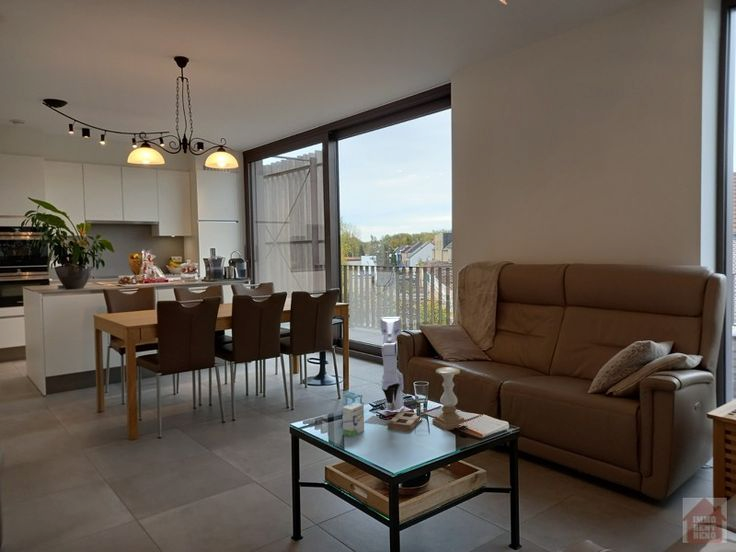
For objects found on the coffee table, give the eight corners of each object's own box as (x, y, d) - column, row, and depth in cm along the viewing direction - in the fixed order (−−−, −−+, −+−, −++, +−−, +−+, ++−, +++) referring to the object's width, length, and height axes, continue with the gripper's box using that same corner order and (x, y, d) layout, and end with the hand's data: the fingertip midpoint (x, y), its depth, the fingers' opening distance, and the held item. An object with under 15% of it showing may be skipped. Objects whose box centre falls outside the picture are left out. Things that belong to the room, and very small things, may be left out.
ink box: (355, 428, 227) (354, 401, 227) (365, 431, 224) (363, 403, 223) (342, 435, 221) (341, 407, 220) (352, 437, 217) (351, 409, 217)
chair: (366, 417, 241) (365, 391, 240) (353, 422, 235) (352, 395, 235) (355, 414, 247) (354, 388, 246) (341, 418, 241) (340, 392, 240)
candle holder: (431, 423, 231) (430, 368, 229) (453, 418, 235) (451, 365, 234) (445, 430, 221) (444, 374, 219) (467, 426, 225) (466, 370, 224)
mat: (372, 416, 243) (372, 415, 243) (393, 418, 239) (393, 417, 239) (363, 423, 234) (363, 422, 234) (384, 425, 230) (384, 425, 230)
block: (400, 417, 239) (400, 411, 239) (422, 419, 235) (421, 413, 235) (387, 429, 225) (387, 422, 225) (409, 432, 221) (409, 425, 220)
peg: (389, 407, 232) (388, 387, 231) (395, 408, 230) (394, 387, 230) (386, 409, 229) (385, 388, 229) (392, 410, 228) (391, 389, 227)
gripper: (388, 366, 237) (389, 396, 238) (374, 374, 224) (376, 405, 225) (402, 367, 234) (404, 397, 235) (390, 375, 221) (391, 407, 222)
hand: (391, 401), depth 230 cm, fingers closed on peg, 3 cm apart
